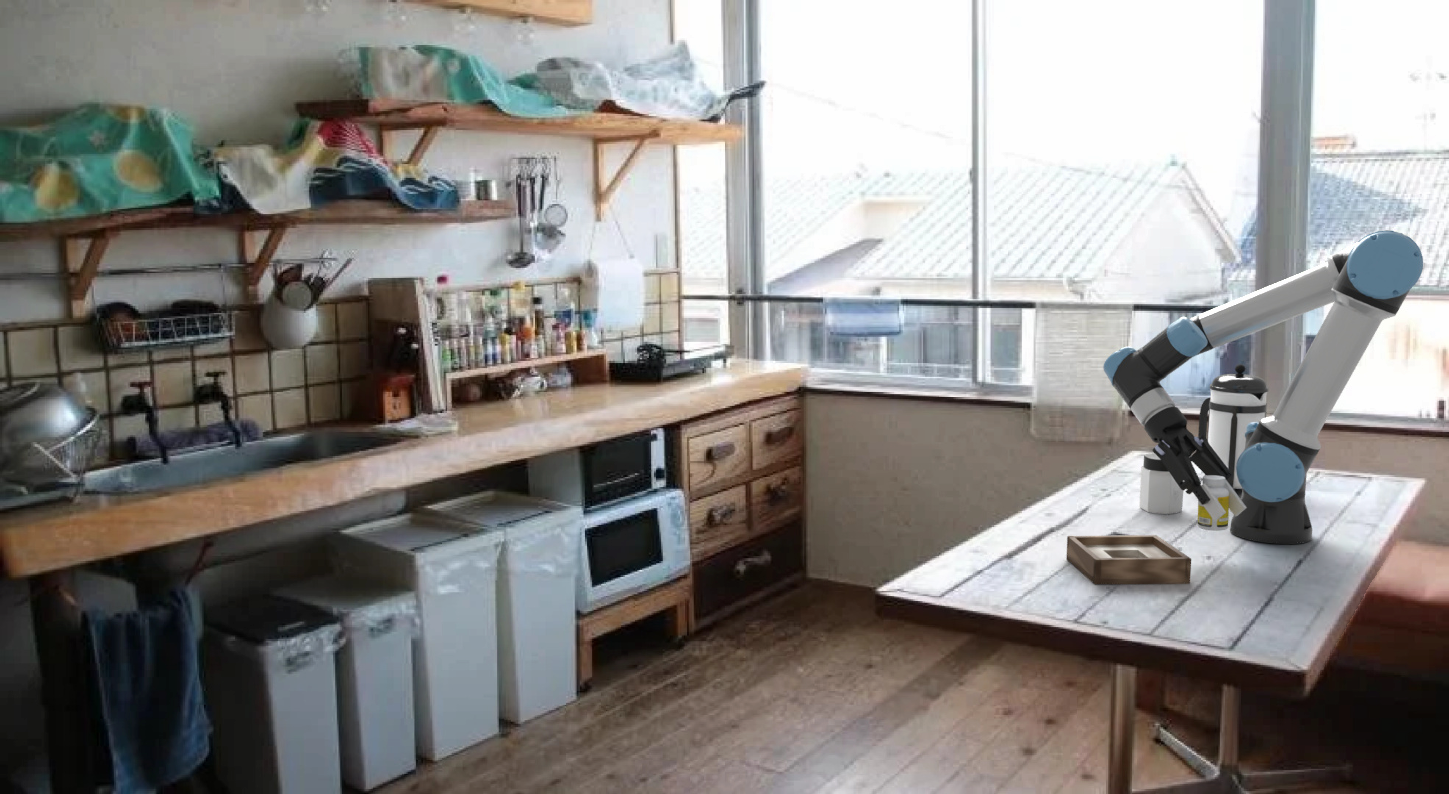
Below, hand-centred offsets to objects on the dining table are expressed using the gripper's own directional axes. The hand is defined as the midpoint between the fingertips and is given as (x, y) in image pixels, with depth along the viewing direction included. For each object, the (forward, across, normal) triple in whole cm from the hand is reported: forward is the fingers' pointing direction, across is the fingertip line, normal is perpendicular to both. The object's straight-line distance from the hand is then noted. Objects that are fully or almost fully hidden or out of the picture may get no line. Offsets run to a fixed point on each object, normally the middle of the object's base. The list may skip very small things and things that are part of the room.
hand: (1230, 514), depth 227 cm
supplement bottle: (0, 0, -5) cm, 5 cm away
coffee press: (-21, -54, -34) cm, 68 cm away
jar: (-18, -23, -30) cm, 42 cm away
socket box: (+2, +21, -11) cm, 23 cm away
